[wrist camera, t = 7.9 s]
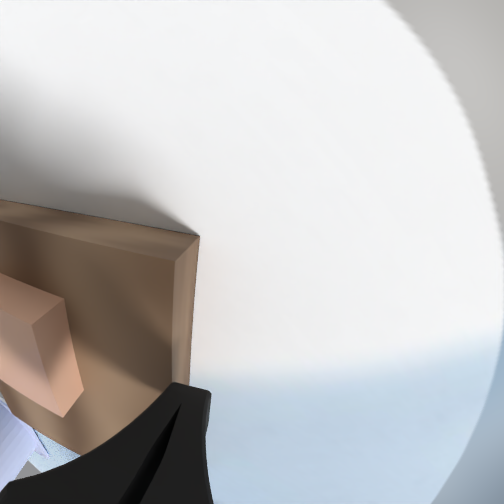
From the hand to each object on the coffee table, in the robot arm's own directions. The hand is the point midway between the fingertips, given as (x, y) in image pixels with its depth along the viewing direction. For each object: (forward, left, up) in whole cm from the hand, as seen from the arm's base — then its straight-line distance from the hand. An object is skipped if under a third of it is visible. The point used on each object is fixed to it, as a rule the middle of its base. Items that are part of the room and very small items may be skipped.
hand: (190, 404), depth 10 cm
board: (-8, -3, -3) cm, 9 cm away
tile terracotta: (-8, 0, -1) cm, 8 cm away
